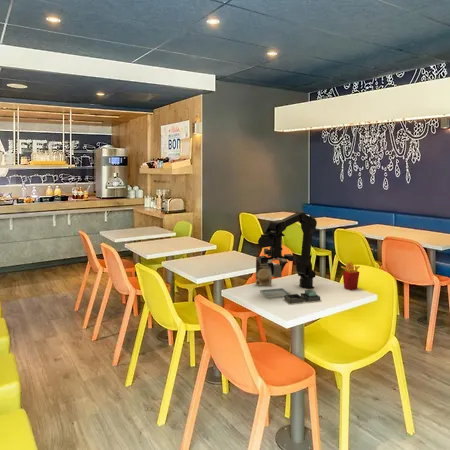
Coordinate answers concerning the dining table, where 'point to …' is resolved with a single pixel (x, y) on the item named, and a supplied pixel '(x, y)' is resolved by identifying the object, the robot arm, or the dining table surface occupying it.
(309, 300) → the double socket holder
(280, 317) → the dining table surface
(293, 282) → the dining table surface
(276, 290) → the tray
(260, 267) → the coffee box
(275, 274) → the block
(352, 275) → the french fries
